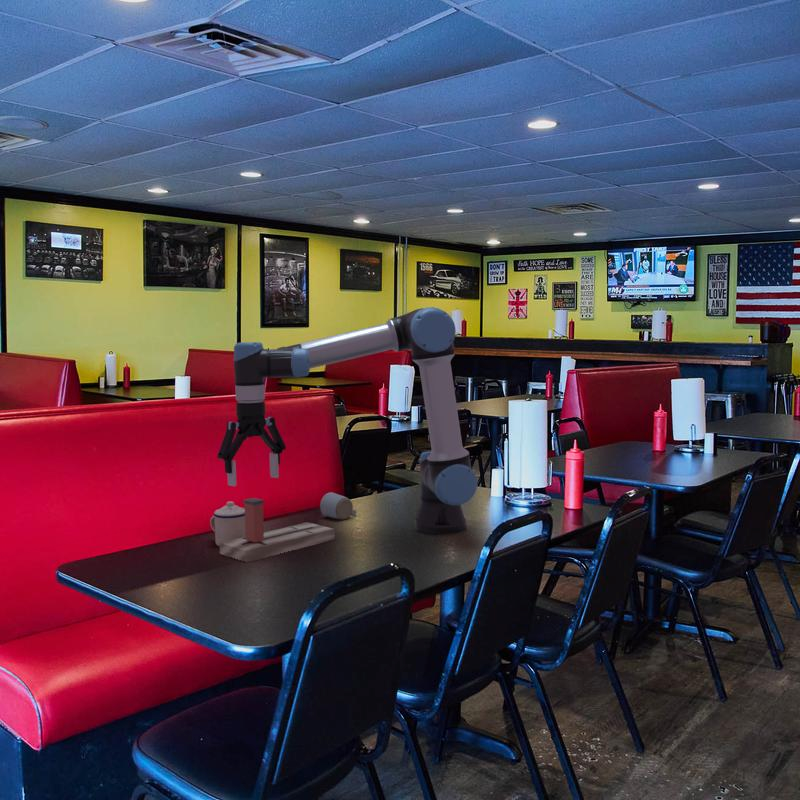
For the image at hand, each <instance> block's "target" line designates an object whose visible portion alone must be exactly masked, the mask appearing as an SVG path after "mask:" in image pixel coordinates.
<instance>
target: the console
mask: <svg viewBox="0 0 800 800" xmlns="http://www.w3.org/2000/svg"><path fill="white" fill-rule="evenodd" d="M335 530H336V529H335V528H332V527H328V526H323V525H320V524H316V523H312V522H308V521H307V522H303V523H299V524H294V525H289V526H286V527H285V526H284V527H281V528H277V529H273V530H269V531H268V530H267V531H264V540H263V541H258V542H251V541H248V540H246V537H242V538H238V539H234V540H229V541H225V542H221V543H219V544H220V546H219V555H222V556H226V557H228V558H231V557H232V558H231V559H234V558H235V560H237V559H238V561H240V560H241V562H243V561H244V563H246V562H247V563H250V562H253V561H257V560H262V559H266V558H268V557H269V556H270V557H273V556H277V555H281V554H284V552H285V553H288V551H289V552H292V550H293V551H296V550H301V549H304V548H308V547H311V546H315V545H319V544H322V543H327V542H330V541H335V540H336V531H335ZM280 553H281V554H280ZM249 561H250V562H249Z"/></svg>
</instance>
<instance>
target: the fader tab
mask: <svg viewBox="0 0 800 800" xmlns="http://www.w3.org/2000/svg"><path fill="white" fill-rule="evenodd" d="M242 502H243V504H244V509H245V537H246V540H248V541H251V542H258V541H263V540H264V532H265V530H264V504H265V501H264V499H261V498H256V497H252V498H247V499H243V501H242Z"/></svg>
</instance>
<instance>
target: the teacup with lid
mask: <svg viewBox="0 0 800 800" xmlns="http://www.w3.org/2000/svg"><path fill="white" fill-rule="evenodd" d="M213 513H214V514H213V515H212V517H211V518H210V520H209V524H210V527H211V530H212V531H213V532H214V534H215V535H214V536H215V537H214V538H215V545H216V546H218V547H220V544H219V543H221V542H225V541H229V540H234V539H238V538H242V537H245V507H240V506H238V505H236V504H235V503H234V501H227V502H226V504H225V505H224V506H222V507H221V508H219V509H216V510H215V511H214V512H213Z"/></svg>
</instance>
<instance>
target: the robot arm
mask: <svg viewBox="0 0 800 800" xmlns="http://www.w3.org/2000/svg"><path fill="white" fill-rule="evenodd" d="M455 325H456V324H455V322H454V319H453V318H452V317H451V315H450V314H449V313H447V311H445V310H443V309H441V308H439V307H433V306H431V307H424V308H423V307H421V308H416V309H414V310H412V311H409V312H407V313H405V314H402V315H398V316H396V317H392V318H388V319H387V321H386V323H381V324H378V325H373V326H368V327H365V328H361V329H355V330H353V331H352V330H351V331H348V332H343V333H339V334H335V335H331V336H326V337H322V338H317V339H314V340H311V341H310V340H309V341H305V342H301V343H298V344H293V345H288V346H281V347H278V348H274V349H273V348H272V349H270V348H269V349H267V348H264V347H263V346H264V345H263V343H262V342H261V341H256V342H255V341H254V342H253V341H250V342H247V341H246V342H245V341H244V342H237V343H236V344H235V345H234V347H233V368H234V369H233V370H234V383H235V384H234V387H235V400H236V401H237V402H236V404H235V412H236V413H235V414H236V416H237V417H236V418H237V420H236V422H235V421H227V422H226V429H225V430H226V431H225V434H224V437H223V440H222V442H221V445H220V447H219V450H218V453H217V457H216V458H217V459H219V460H223V461H224V462H223V463H224V472H225V473H226V474H227V486H231V487H236V486H237V471H236V470H237V469H236V468H237V467H236V466H237V465H236V460H233V459H234V458H235V456H236V455H237V454H238V451H239V449H241V446H242V444H243V443H244V441H245V440H246V439H247V438H252V437H259V438H261V440H262V442H264V443H265V445H266V447H268V448H269V450H270V451H271V452H269V475H270V478H274V479H279V477H280V474H279V470H280V469H279V465H280V464H281V454H282V453H283V451H285V450H286V449H287V446H286V444H285V442H284V440H283V437H282V435H281V433H280V431H279V429H278V427H277V424H276V418H275V417H274V416H266V417H265V415H266V402H265V401H264V400H265V399H266V391H265V378H266V379H270V378H301V377H307V376H309V374H310V370H312V369H313V368H314V369H315V368H318V367H324V366H327V365H331V364H336V363H340V362H344V361H348V360H353V359H356V358H361V357H362V358H363V357H365V356H369V355H374V354H378V353H382V352H385V351H390V350H392V351H393V352H395V353H397V352H401V351H402V352H403V351H409V350H410V352H411V357H412V358H411V359H412V361H413V362H414V363H415V364H416V365H417V366H418V367H419V374H420V375H419V376H420V379H421V380H420V381H421V387H422V389H421V390H422V394H423V401H424V408H425V415H426V422H427V427H428V435H429V436H428V437H429V441H430V448H431V449H430V451H429V450H428V451H423V452H421V453H420V456H419V457H420V458H419V462H418V463H419V472H420V473H419V478H420V479H419V482H420V483H419V484H420V486H419V487H420V489H419V491H420V503H419V507H418V510H417V512H416V518H415V519H414V529H415V531H416V532H417V531H418V532H420V533H425V534H430V535H451V534H458V533H461V532H464V531H465V530H466V529H467V520H466V517H465V515H464V514H465V513H464V512H463V508H462V505H464V504H466V503H467V502H469V501H470V500H471V499H472V498H473V497H474V495H475V494H476V492H477V488H478V479H477V478H478V477H477V475H476V473H475V471H474V470H473V469H472V464H471V458H470V451H469V450H468V449H466V448H465V447H464V446H463V442H462V441H463V440H462V435H461V433H462V432H461V427H460V420H459V414H458V413H459V412H458V406H457V398H456V394H455V393H456V392H455V385H454V379H453V377H454V376H453V371H452V365H451V361H452V359H453V358H454V357H455V355H456V353H455V345H454V341H455V337H456V326H455ZM265 427H267V430H268V431H267V430H266V428H265ZM237 430H238V431H237ZM236 431H237V432H236ZM269 434H270V435H269ZM234 437H235V438H234Z"/></svg>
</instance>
